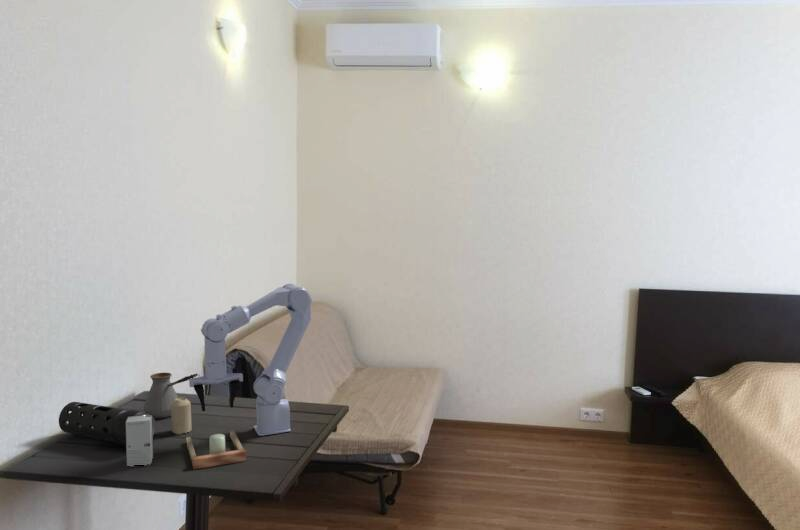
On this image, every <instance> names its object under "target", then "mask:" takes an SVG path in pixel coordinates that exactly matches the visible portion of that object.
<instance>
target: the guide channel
mask: <svg viewBox="0 0 800 530" xmlns="http://www.w3.org/2000/svg"><path fill="white" fill-rule="evenodd" d="M229 436H230V439H231V441H232V443H233V445H234V447H236V448H235V450H230V451H225V452H222V453H215V454H210V453H209V454H204V455H203V454H202V455H197V454H196V451H195V448H194V444H193V440H192V437H191V436H187V437H185V443H187V444H186V447H187V450H189V451H188V454H189V458H190V461H192V462H191V464H192V468H193V470H198V469H205V468H210V467H211V468H212V467H217V466H221V465H228V464H233V463H234V464H235V463H241V462H246V461H247V458H248V457H247V450H246V448H244V447H243V445H242V443H241V442H240V440H239V437H238V435H237V434H236V432H235V430H230V431H229ZM236 449H237V450H236Z"/></svg>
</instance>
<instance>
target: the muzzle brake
mask: <svg viewBox="0 0 800 530" xmlns="http://www.w3.org/2000/svg"><path fill="white" fill-rule="evenodd" d="M133 416H150V415H149V414H148V413H146V412H145V411H144V410H138V409H130V410H129V409H125V408H118V407H111V406H106V405H98V404H92V403H86V402H80V401H79V402H78V401H71V402H68V403H67V404H65V405H64V407H63V408H62V409H61V411H60V413H59V415H58V426H59V428H60V430H61V431H62V432H64V433H67V434H71V436H73V437H78V438H79V437H80V438H84V439H89V440H99V441H101V442H103V441H105V440H106V441H110V442H116V443H117V445H119V446H123V445H124V447H126V421H127V419H128V417H133ZM156 427H157V424H156V421H155V418H153V417H152V438H153V437H154V435H155V433H156Z"/></svg>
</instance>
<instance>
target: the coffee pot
mask: <svg viewBox="0 0 800 530" xmlns="http://www.w3.org/2000/svg"><path fill="white" fill-rule="evenodd" d="M172 376H173V375H172V373H170V372H159V373H158V372H157V373H153V374H151V375H150V379H151V380H152V383H151V386H150V389H149V391H148V394H147V396H146V399H145V401H144V405H143V411H144V412H146V413H148V414H149V415H151V416H152V417H153V418H154V419H164V418H169V417H170V418H171V403H172V402H173V401H174V400H175V399H176V398H177V399H178V398H179V396H178V394H177V392H176V390H175V388H174V385H177V384H181V383H184V382H187V381H189V379H192V378H197V376H198V377H201V375H200V374H198V373H194V374H189V375H188V376H184V377H182V378H181V379H178V380H175V381H173V382H171V377H172Z"/></svg>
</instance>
